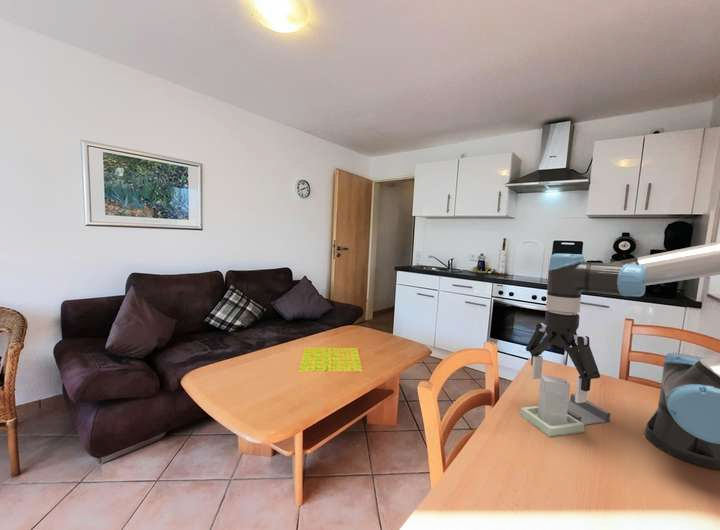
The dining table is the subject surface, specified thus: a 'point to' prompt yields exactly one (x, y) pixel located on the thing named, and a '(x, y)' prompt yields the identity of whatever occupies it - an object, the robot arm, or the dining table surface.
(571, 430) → the tray
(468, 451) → the dining table surface
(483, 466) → the dining table surface
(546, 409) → the skincare box
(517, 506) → the dining table surface
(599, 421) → the tray
